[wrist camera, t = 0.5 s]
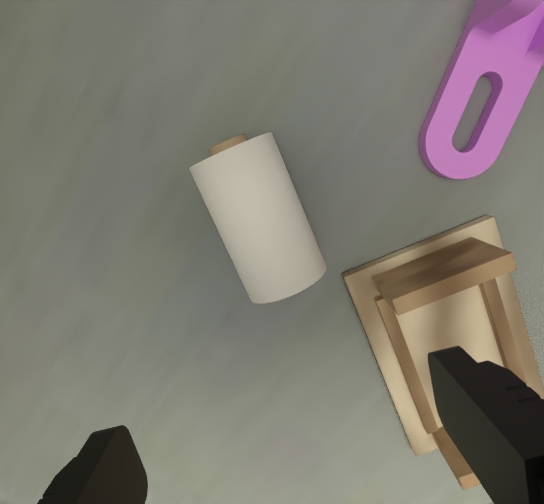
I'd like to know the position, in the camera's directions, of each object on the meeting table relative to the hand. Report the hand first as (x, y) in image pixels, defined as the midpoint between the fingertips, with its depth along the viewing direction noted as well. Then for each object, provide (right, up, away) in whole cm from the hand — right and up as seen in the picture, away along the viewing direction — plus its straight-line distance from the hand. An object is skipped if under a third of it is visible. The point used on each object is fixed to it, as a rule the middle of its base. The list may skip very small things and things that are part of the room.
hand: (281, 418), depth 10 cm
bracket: (+15, +16, +18) cm, 28 cm away
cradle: (+14, -3, +22) cm, 27 cm away
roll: (-1, +7, +20) cm, 21 cm away
